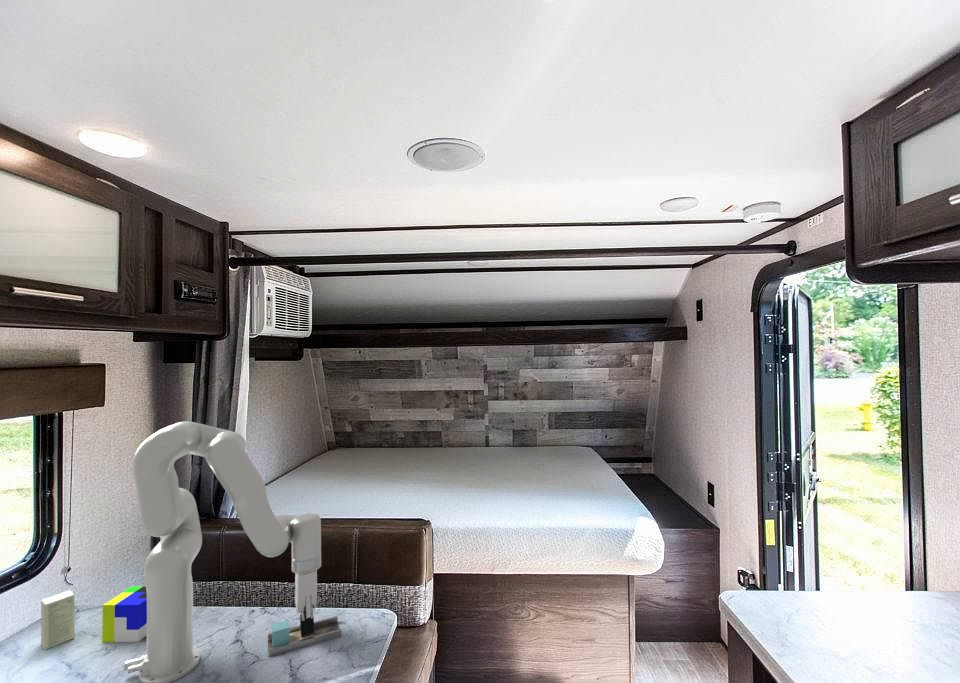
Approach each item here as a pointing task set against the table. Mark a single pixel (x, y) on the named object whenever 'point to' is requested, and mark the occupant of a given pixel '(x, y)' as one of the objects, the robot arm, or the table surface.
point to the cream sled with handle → (297, 636)
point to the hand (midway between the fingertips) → (306, 630)
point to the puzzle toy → (126, 616)
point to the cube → (280, 633)
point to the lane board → (311, 640)
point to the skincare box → (57, 619)
